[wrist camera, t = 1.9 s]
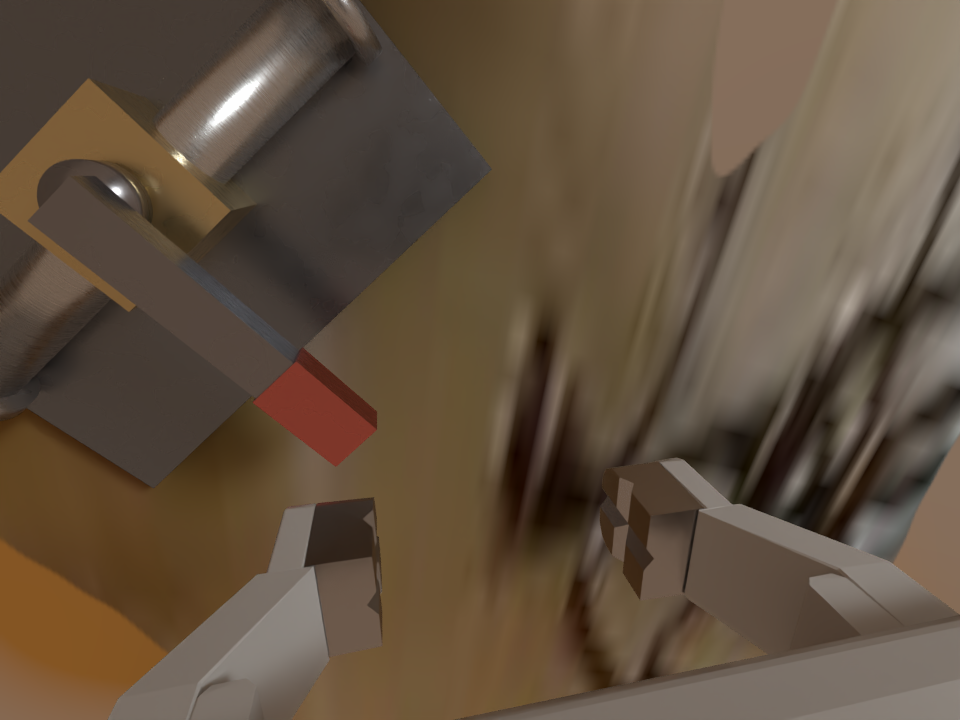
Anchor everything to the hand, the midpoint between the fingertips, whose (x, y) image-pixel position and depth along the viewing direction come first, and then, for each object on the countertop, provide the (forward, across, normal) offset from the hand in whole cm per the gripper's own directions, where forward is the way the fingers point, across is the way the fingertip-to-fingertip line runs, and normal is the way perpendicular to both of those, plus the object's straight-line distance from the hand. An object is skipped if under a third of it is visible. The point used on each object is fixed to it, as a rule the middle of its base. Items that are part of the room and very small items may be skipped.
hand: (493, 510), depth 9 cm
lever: (+18, +9, 0) cm, 20 cm away
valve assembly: (+25, +13, -5) cm, 29 cm away
